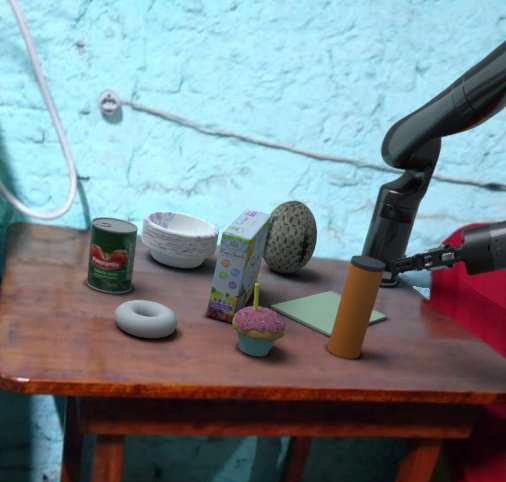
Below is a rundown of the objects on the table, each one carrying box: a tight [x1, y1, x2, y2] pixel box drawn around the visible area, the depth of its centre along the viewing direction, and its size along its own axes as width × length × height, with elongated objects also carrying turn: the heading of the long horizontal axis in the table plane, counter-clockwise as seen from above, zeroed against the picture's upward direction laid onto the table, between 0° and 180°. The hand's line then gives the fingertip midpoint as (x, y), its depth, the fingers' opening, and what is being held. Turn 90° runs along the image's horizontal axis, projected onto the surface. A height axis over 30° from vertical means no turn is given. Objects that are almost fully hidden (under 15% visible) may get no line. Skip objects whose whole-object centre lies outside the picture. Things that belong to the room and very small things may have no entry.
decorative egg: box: [262, 200, 318, 274], centre depth 155 cm, size 12×12×15 cm
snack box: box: [205, 208, 272, 324], centre depth 133 cm, size 21×6×15 cm, turn 168°
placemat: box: [269, 290, 387, 338], centre depth 142 cm, size 20×14×1 cm
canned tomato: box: [86, 216, 139, 295], centre depth 129 cm, size 8×8×11 cm
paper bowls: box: [140, 210, 220, 269], centre depth 150 cm, size 15×15×8 cm
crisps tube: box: [327, 254, 385, 360], centre depth 123 cm, size 6×6×16 cm
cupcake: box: [231, 278, 286, 357], centre depth 117 cm, size 9×8×12 cm
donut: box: [114, 299, 178, 339], centre depth 118 cm, size 10×4×10 cm
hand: (394, 266), depth 124 cm, fingers open, 8 cm apart
